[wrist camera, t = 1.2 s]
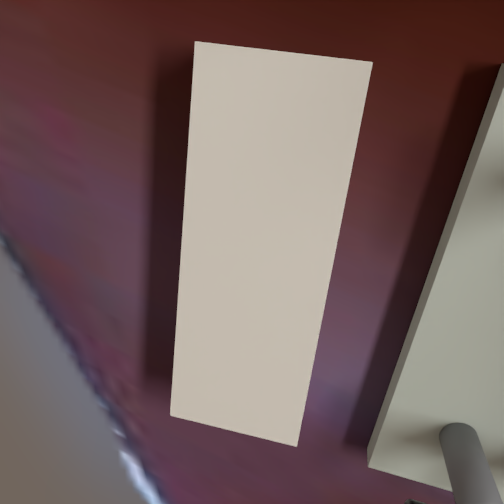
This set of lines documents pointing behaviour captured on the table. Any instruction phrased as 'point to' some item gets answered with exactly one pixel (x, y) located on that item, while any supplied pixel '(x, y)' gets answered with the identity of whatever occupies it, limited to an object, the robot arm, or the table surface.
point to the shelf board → (260, 231)
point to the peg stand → (456, 343)
